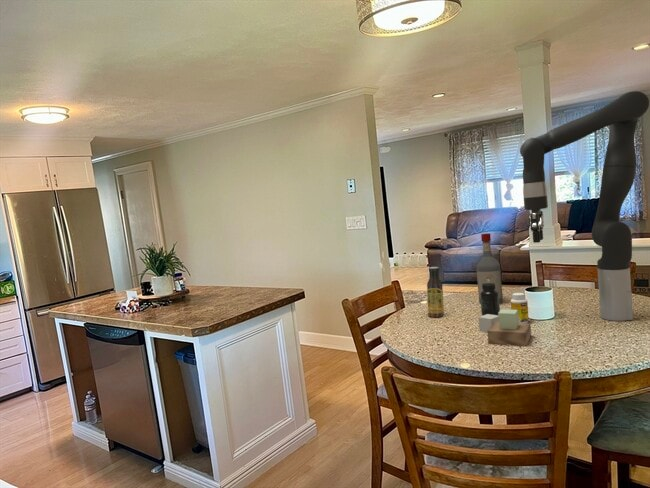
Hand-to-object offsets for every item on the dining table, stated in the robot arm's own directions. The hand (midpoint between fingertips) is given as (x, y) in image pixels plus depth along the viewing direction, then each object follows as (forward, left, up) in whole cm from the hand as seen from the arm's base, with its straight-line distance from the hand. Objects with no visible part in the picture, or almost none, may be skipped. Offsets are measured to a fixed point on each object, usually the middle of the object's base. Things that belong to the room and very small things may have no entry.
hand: (538, 241), depth 159 cm
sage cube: (+7, +27, -24) cm, 37 cm away
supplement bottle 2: (+7, +6, -28) cm, 30 cm away
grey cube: (+15, +18, -28) cm, 37 cm away
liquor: (+23, -23, -28) cm, 43 cm away
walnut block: (+7, +27, -28) cm, 40 cm away
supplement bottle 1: (+19, -3, -28) cm, 34 cm away
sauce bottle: (+39, +2, -28) cm, 48 cm away
